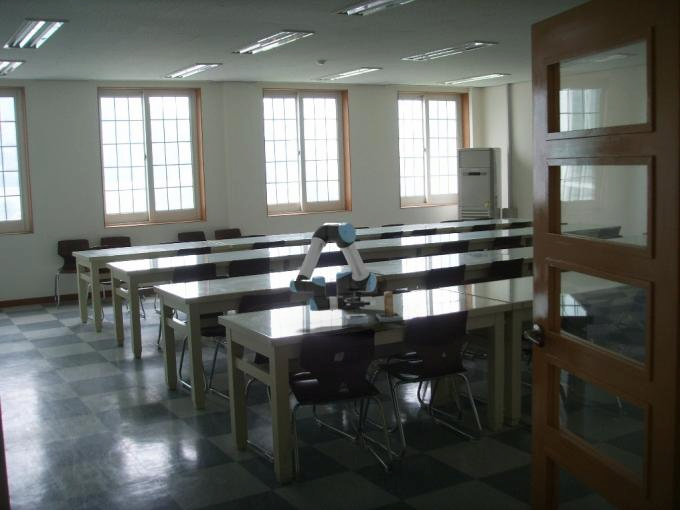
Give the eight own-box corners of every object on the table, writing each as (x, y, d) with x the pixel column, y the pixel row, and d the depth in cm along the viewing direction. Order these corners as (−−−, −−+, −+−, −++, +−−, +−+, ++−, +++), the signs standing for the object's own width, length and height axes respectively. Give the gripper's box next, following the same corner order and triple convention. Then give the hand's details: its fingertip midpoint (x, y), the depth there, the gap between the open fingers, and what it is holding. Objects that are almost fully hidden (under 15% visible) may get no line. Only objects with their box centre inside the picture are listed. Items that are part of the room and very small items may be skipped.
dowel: (384, 317, 433) (383, 291, 432) (392, 316, 434) (391, 291, 432) (385, 319, 428) (384, 293, 427) (394, 318, 429) (393, 292, 427)
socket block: (345, 320, 435) (344, 315, 434) (365, 319, 436) (365, 314, 436) (347, 324, 423) (347, 319, 422) (368, 323, 424) (368, 317, 424)
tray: (376, 318, 437) (376, 314, 437) (398, 316, 438) (398, 312, 438) (380, 322, 424) (379, 318, 424) (402, 321, 426) (402, 316, 425)
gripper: (334, 305, 440) (370, 303, 442) (339, 313, 415) (377, 311, 417) (334, 293, 439) (370, 291, 441) (339, 300, 414) (377, 297, 416)
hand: (373, 300), depth 429 cm, fingers open, 13 cm apart
